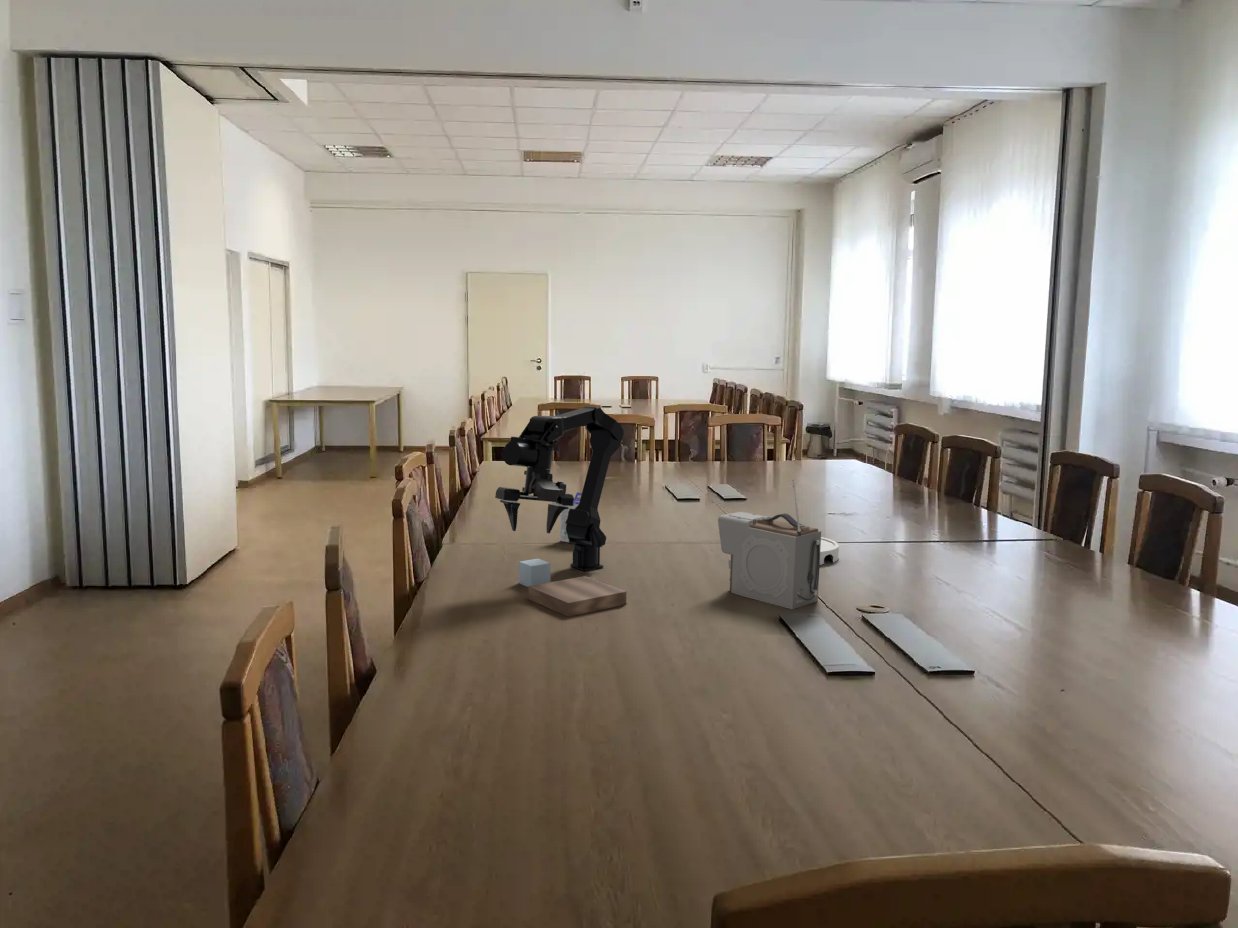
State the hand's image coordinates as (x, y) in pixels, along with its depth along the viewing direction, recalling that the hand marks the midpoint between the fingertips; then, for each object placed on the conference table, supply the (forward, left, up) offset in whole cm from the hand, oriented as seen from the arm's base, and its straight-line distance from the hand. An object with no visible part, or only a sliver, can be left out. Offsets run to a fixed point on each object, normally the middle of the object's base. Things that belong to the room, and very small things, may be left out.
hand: (531, 532), depth 220 cm
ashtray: (-78, +17, -13) cm, 81 cm away
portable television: (-41, +40, -13) cm, 58 cm away
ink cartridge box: (-36, -30, -13) cm, 49 cm away
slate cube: (-1, +1, -13) cm, 13 cm away
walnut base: (-1, +19, -13) cm, 23 cm away
